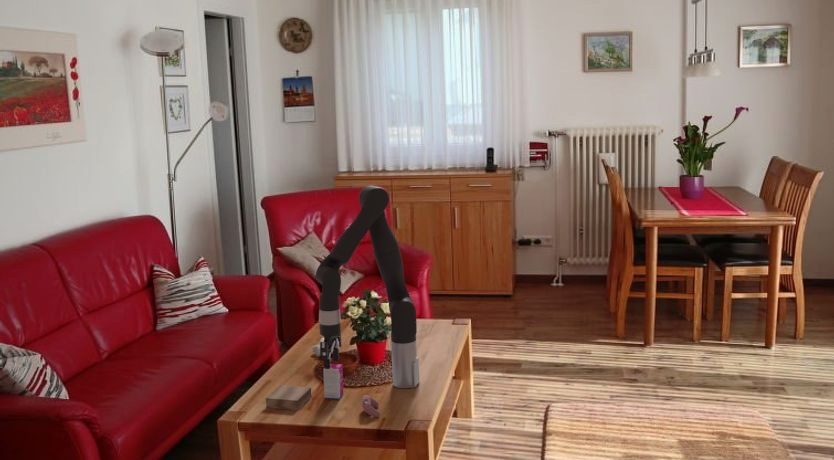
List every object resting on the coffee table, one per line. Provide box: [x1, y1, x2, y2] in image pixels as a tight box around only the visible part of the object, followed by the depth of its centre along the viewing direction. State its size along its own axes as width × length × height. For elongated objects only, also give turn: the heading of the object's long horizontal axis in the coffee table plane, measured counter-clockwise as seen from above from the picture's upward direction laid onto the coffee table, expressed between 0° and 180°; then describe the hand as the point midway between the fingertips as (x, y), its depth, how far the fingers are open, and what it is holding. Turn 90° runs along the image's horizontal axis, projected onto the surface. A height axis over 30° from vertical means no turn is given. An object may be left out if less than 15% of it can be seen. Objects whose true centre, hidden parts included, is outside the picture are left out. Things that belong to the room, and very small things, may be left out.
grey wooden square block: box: [265, 385, 313, 411], centre depth 300 cm, size 12×12×4 cm
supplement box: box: [323, 363, 344, 401], centre depth 302 cm, size 6×6×12 cm
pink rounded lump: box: [361, 394, 381, 418], centre depth 288 cm, size 10×5×7 cm, turn 5°
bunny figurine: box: [311, 337, 333, 357], centre depth 350 cm, size 10×5×15 cm
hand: (331, 364), depth 301 cm, fingers open, 8 cm apart
